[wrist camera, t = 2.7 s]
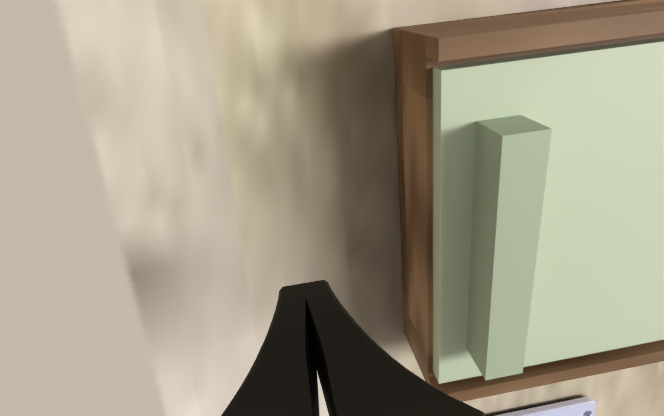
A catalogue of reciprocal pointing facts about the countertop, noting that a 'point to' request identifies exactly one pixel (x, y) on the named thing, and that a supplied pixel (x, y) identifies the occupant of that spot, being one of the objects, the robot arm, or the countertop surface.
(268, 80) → the countertop surface
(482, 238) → the lid
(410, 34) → the box
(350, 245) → the countertop surface
